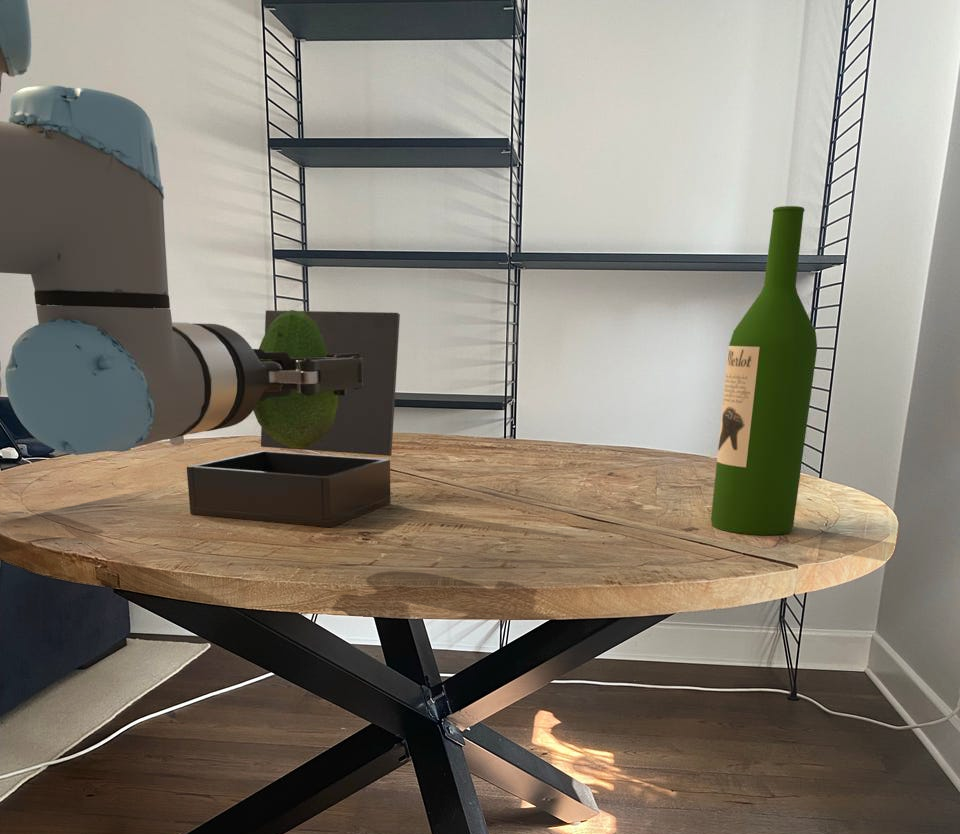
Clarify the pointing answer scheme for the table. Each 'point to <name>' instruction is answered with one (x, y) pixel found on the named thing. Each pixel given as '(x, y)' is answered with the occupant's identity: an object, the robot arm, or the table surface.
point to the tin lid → (370, 408)
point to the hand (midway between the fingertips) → (312, 366)
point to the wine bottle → (767, 397)
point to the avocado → (296, 413)
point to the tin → (289, 487)
